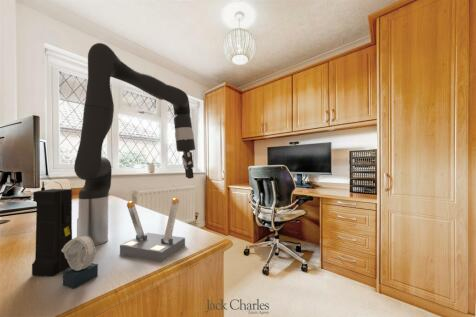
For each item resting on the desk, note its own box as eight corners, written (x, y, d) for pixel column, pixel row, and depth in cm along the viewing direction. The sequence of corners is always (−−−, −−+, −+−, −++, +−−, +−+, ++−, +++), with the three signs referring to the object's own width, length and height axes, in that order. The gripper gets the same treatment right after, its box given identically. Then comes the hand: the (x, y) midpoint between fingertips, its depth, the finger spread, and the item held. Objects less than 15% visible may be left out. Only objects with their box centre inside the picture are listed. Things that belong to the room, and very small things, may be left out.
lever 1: (136, 239, 68) (124, 203, 63) (141, 234, 70) (130, 199, 65) (141, 240, 67) (129, 203, 63) (146, 235, 69) (135, 200, 65)
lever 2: (161, 241, 64) (171, 197, 69) (166, 240, 66) (175, 198, 71) (167, 241, 63) (177, 197, 68) (172, 241, 65) (180, 199, 70)
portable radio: (78, 265, 57) (79, 180, 57) (56, 277, 51) (58, 182, 51) (54, 264, 57) (55, 180, 58) (30, 276, 51) (32, 182, 52)
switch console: (119, 254, 63) (119, 240, 64) (147, 240, 75) (147, 228, 75) (161, 262, 58) (161, 247, 58) (185, 246, 69) (185, 233, 69)
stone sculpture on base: (82, 271, 53) (82, 231, 53) (102, 277, 50) (102, 235, 51) (57, 283, 48) (58, 239, 48) (78, 290, 45) (78, 243, 45)
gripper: (175, 142, 86) (179, 178, 86) (176, 137, 73) (181, 180, 73) (191, 141, 89) (196, 176, 88) (196, 136, 75) (201, 177, 75)
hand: (189, 177), depth 80 cm, fingers open, 8 cm apart
